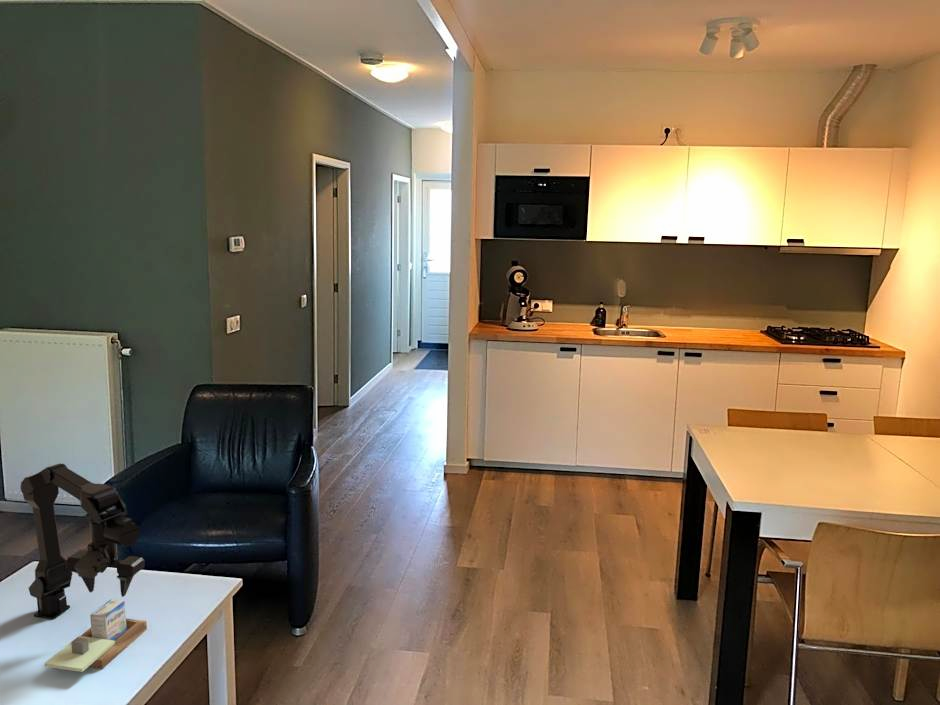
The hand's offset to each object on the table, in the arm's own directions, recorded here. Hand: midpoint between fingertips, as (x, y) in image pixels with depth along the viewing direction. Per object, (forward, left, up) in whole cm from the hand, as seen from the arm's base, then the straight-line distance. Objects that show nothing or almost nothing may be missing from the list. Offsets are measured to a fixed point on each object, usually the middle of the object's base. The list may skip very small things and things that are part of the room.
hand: (107, 593), depth 193 cm
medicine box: (+1, -1, -12) cm, 12 cm away
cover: (+1, -12, -10) cm, 15 cm away
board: (+1, -3, -12) cm, 13 cm away
